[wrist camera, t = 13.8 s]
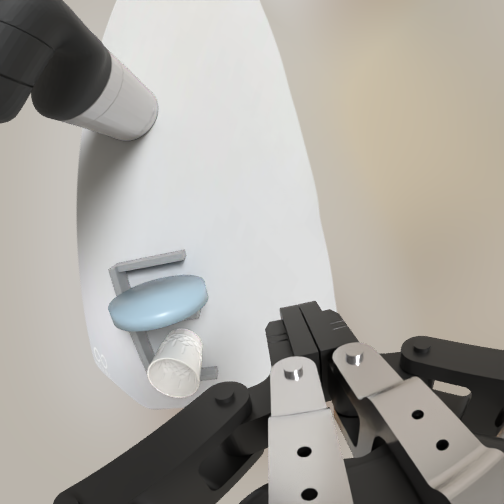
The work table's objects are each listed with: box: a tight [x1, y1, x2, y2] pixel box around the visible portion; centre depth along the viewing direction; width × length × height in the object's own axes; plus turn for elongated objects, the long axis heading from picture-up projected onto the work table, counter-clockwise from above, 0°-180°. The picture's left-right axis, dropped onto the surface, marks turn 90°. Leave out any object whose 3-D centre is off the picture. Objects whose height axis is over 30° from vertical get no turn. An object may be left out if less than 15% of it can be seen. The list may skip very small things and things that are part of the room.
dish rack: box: [108, 250, 218, 381], centre depth 38 cm, size 15×23×14 cm, turn 10°
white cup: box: [147, 329, 203, 398], centre depth 41 cm, size 8×8×10 cm
